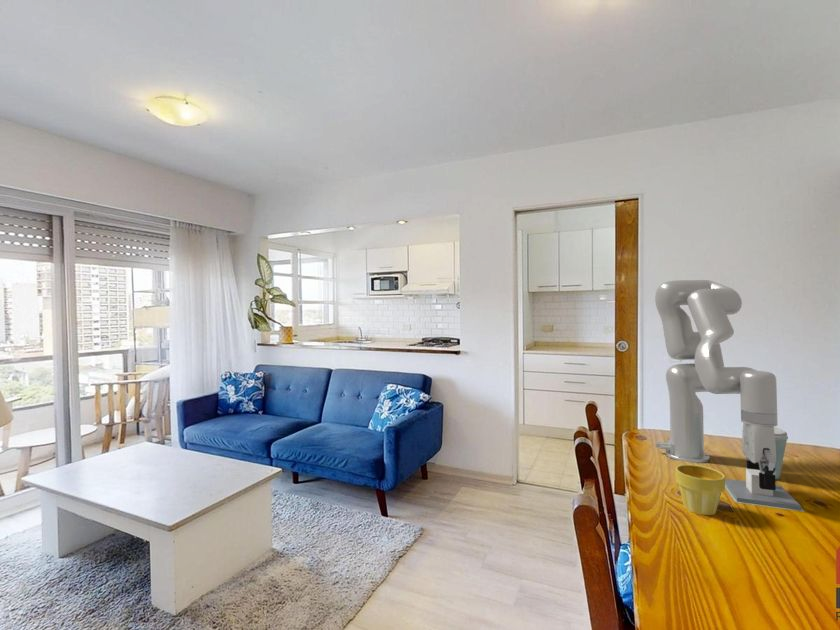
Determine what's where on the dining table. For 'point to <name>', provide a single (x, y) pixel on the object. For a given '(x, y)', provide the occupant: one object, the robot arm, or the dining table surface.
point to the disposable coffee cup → (779, 449)
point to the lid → (760, 492)
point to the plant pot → (700, 488)
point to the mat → (758, 504)
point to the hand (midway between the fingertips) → (760, 482)
